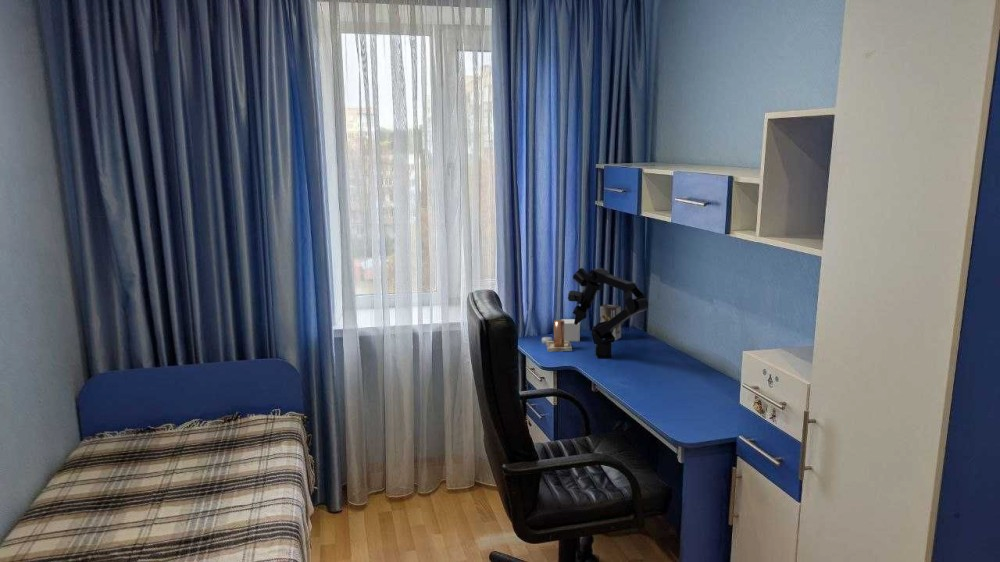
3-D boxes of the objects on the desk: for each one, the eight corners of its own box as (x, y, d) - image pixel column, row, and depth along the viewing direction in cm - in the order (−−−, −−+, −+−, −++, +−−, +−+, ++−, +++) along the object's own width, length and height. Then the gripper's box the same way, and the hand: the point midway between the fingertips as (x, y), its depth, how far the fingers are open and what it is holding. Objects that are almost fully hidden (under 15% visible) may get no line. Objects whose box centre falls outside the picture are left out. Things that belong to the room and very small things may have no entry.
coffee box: (621, 337, 334) (622, 305, 331) (616, 340, 329) (616, 308, 326) (604, 334, 339) (605, 303, 336) (599, 337, 334) (599, 306, 331)
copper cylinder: (565, 346, 318) (566, 320, 316) (561, 349, 314) (561, 323, 312) (557, 344, 321) (557, 319, 318) (552, 347, 317) (552, 321, 314)
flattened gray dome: (551, 341, 329) (551, 336, 328) (552, 344, 324) (552, 339, 324) (541, 341, 329) (541, 336, 328) (542, 344, 324) (542, 339, 323)
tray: (569, 344, 323) (569, 341, 323) (571, 351, 312) (572, 347, 312) (546, 344, 323) (546, 341, 323) (548, 351, 312) (548, 348, 312)
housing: (577, 336, 336) (577, 319, 334) (579, 341, 328) (579, 323, 327) (560, 336, 336) (560, 319, 334) (562, 341, 328) (562, 323, 327)
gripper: (578, 277, 315) (566, 303, 323) (568, 293, 299) (556, 321, 307) (599, 286, 314) (587, 313, 321) (591, 304, 298) (579, 331, 305)
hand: (577, 319), depth 314 cm, fingers open, 9 cm apart
